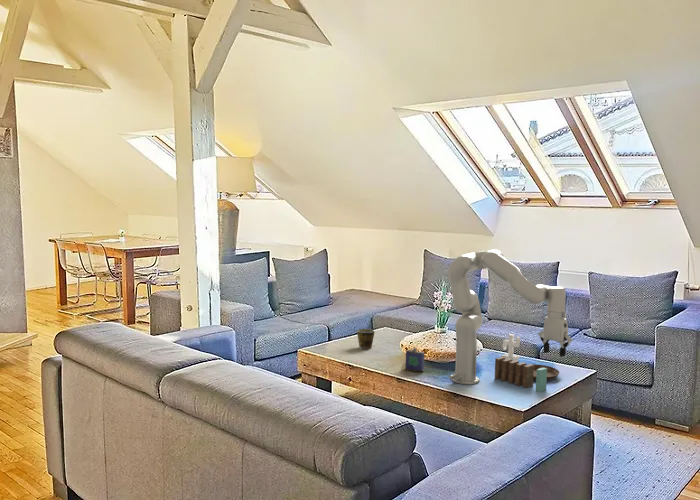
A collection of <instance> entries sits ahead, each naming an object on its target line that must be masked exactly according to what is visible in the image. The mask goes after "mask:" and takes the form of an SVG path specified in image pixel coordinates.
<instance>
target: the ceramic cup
mask: <svg viewBox="0 0 700 500" xmlns="http://www.w3.org/2000/svg"><path fill="white" fill-rule="evenodd" d="M356 335H357V341H358V348H359V349H360V350H365V351H366V349H367V350H371V349H372V346H373V342H374V338H375V330H374V329H370V328H361V329H357V330H356Z"/></svg>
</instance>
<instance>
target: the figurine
mask: <svg viewBox="0 0 700 500" xmlns="http://www.w3.org/2000/svg"><path fill="white" fill-rule="evenodd" d="M520 341H521V337H520V336H516V338H515V334H511V333H510V334H508V338H507V339H503V341H502V350H504V351H505V350H506V349H507V350H508V351H507V353H505V354H502V355H500V357H505V359H512V361H515V360H516V361H519V359H520V358H521V355H518V354H514V350H515V349H514V348H519V347H520V344H521V343H520ZM507 347H508V348H507Z"/></svg>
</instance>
